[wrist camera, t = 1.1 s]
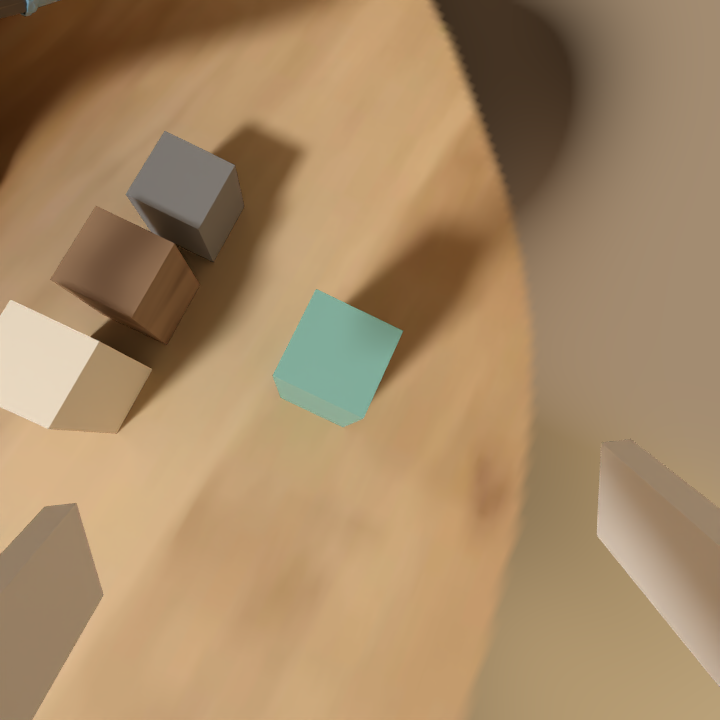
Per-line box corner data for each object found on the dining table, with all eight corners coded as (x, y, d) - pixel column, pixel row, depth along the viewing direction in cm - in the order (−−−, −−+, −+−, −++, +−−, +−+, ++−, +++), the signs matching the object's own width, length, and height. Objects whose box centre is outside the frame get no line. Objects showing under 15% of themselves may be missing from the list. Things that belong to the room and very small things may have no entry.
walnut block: (102, 314, 37) (50, 279, 29) (137, 255, 38) (95, 205, 30) (167, 344, 37) (131, 317, 29) (200, 285, 38) (174, 243, 30)
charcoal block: (152, 232, 38) (125, 194, 32) (184, 177, 39) (164, 130, 33) (213, 262, 39) (198, 229, 33) (244, 206, 40) (235, 165, 34)
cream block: (49, 402, 36) (-45, 386, 26) (87, 338, 37) (10, 299, 27) (116, 433, 36) (47, 429, 26) (152, 369, 37) (99, 341, 27)
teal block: (280, 397, 37) (272, 375, 26) (310, 337, 38) (316, 288, 27) (343, 427, 38) (363, 418, 26) (371, 366, 39) (403, 330, 27)
